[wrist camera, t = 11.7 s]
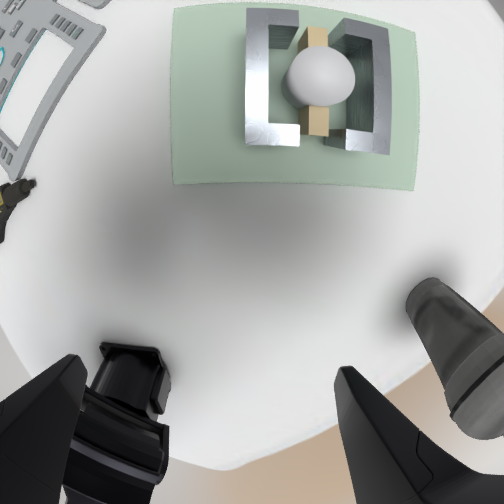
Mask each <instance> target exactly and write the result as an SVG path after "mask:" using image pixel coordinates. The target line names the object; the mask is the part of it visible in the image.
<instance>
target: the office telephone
mask: <svg viewBox="0 0 504 504" xmlns="http://www.w3.org/2000/svg"><path fill="white" fill-rule="evenodd" d="M56 1H57V0H0V112H1V110H2V107H3V105H4V103H5V100H6V98H7V96H8V94H9V92H10V90H11V88H12V86H13V84H14V82H15V80H16V78H17V76H18V74H19V72H20V70H21V68H22V67H23V65H24V63H25V61H26V60H27V58H28V56H29V55H30V53H31V51H32V50H33V48H34V46H35V45H36V43H37V42H38V40H39V39H40V38H41V36H42V35H43V33H44V32H45V30H46V29H48V30H49V31H51V32H52V33H54V34H56V35H57V36H59V37H60V38H62V39H63V40H64V41H66V42H67V43H69V44H70V45H71V46H73V47H74V49H73V51H72V52H71V53H70V55H69V56H68V58H67V59H66V61H65V62H64V64H63V65H62V67H61V69H60V70H59V72H58V73H57V75H56V77H55V78H54V80H53V82H52V83H51V85H50V87H49V88H48V90H47V92H46V94H45V95H44V97H43V99H42V101H41V103H40V104H39V106H38V108H37V110H36V112H35V114H34V116H33V118H32V120H31V122H30V124H29V126H28V129H27V131H26V133H25V135H24V137H23V139H22V141H21V143H20V145H19V147H17V146H16V145H15V144H14V143H13V142H12V141H11V140H10V139H9V138H8V137H7V136H6V135H5V133H4V132H3V131H2V130H1V129H0V164H1V166H2V167H3V168H4V169H5V171H6V172H7V173H8V176H9V179H10V180H11V181H16V180H19V179H21V177H22V175H23V173H24V170H25V168H26V166H27V163H28V161H29V159H30V156H31V154H32V152H33V150H34V148H35V145H36V143H37V141H38V139H39V137H40V135H41V133H42V131H43V129H44V127H45V125H46V123H47V122H48V120H49V118H50V116H51V114H52V112H53V110H54V109H55V107H56V105H57V103H58V102H59V100H60V98H61V97H62V95H63V93H64V92H65V90H66V89H67V87H68V85H69V84H70V82H71V81H72V79H73V78H74V76H75V75H76V73H77V72H78V71H79V69H80V68H81V66H82V65H83V64H84V62H85V61H86V59H87V58H88V56H89V55H90V54H91V52H92V51H93V49H94V48H95V47H96V45H97V44H98V43H99V41H100V40H101V39H102V37H103V36H104V34H105V33H106V28H105V27H104V26H102V25H100V24H95V23H93V22H91V21H89V20H87V19H85V18H83V17H81V16H79V15H78V14H76V13H74V12H72V11H70V10H69V9H67V8H65V7H63V6H61V5H59V4H57V3H56ZM79 1H82V2H84V3H86V4H88V5H90V6H92V7H95V8H97V9H102V8H104V7H105V6H106V5H107V4H108V3H109V2H110V1H111V0H79Z"/></svg>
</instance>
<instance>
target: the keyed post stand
mask: <svg viewBox="0 0 504 504" xmlns="http://www.w3.org/2000/svg"><path fill="white" fill-rule="evenodd" d="M246 8H276V9H290V10H299V28H298V30H297V32H296V34H295V36H294V38H293V40H292V42H291V44H290V46H289V48H288V50H287V49H269V87H268V123H273V124H295V125H300V138H299V146H280V145H245V78H246ZM343 18H349V19H354V20H358V21H362V22H366V23H370V24H374V25H377V26H381V27H384V28H387V29H388V32H389V43H390V56H391V77H392V121H391V143H390V156H389V155H382V154H375V153H368V152H360V151H351V150H344V149H339V148H334V147H330V146H325V145H323V141H324V136H328V135H329V129H346V98H347V97H348V96H349V95H350V94H351V93H352V91H353V89H354V85H355V73H354V70H353V67H352V65H351V64H350V62H349V61H348V59H347V58H346V57H345V56H344V55H343V54H341V53H340V52H338V51H337V50H335V49H333V48H330V47H328V34H329V33H330V32H331V31H332V30H333V29H334V28H335V27H336V26H337V24H338V23H339V22H340V21H341V20H342V19H343ZM419 116H420V96H419V70H418V57H417V46H416V38H415V32H412V31H410V30H407V29H404V28H401V27H398V26H395V25H392V24H389V23H386V22H383V21H379V20H376V19H372V18H368V17H364V16H360V15H356V14H352V13H347V12H342V11H337V10H332V9H326V8H319V7H312V6H304V5H295V4H282V3H261V2H239V3H217V4H205V5H195V6H187V7H180V8H174V14H173V28H172V45H171V74H170V120H171V152H172V171H173V185H179V184H202V183H307V184H330V185H347V186H362V187H374V188H386V189H396V190H406V191H414V185H415V177H416V167H417V156H418V142H419Z"/></svg>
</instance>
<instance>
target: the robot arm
mask: <svg viewBox="0 0 504 504" xmlns="http://www.w3.org/2000/svg"><path fill="white" fill-rule="evenodd" d="M99 348H100V350H101V352H102V355H103V357H104V360H103V361H102V363H101V365H100V368H99V370H98V372H97V374H96V376H95V378H94V380H93V382H92V384H91V386H90V388H89V387H87V385H86V380H87V369H86V368H85V366H84V364H83V362H82V360H81V358H80V357H79V356H78V355H75V354H68V355H66V356H65V357H63V358H62V359H61V360H59V361H58V362H56V363H55V364H53V365H52V366H50V367H49V368H48V369H46V370H45V371H43V372H42V373H41V374H39V375H38V376H36V377H35V378H33V379H32V380H31V381H29V382H28V383H26V384H25V385H24V386H22V387H21V388H19V389H18V390H17V391H15V392H14V393H12V394H11V395H10V396H8V397H7V398H6V399H5V400H3V401H1V402H0V504H59V499H60V492H61V486H62V485H63V488H64V491H65V494H66V496H67V499H66V502H65V504H149V503H150V499H151V495H152V492H153V489H154V486H155V485H158V484H159V483H160V482H161V481H162V479H163V478H164V476H165V473H166V470H167V467H168V460H169V426H168V425H166V424H161V423H158V422H157V418H158V414H159V415H162V414H163V413H164V411H165V407H166V402H167V398H168V394H169V392H170V390H171V387H170V386H171V382H170V379H169V376H168V373H167V370H166V368H165V367H164V366H163V362H162V359H161V356H160V353H159V351H158V350H156V349H153V348H143V347H133V346H125V345H117V344H109V343H101V345H100V347H99ZM153 353H154V354H153ZM334 392H335V399H336V407H337V415H338V423H339V429H340V433H341V437H342V441H343V445H344V449H345V453H346V458H347V462H348V466H349V471H350V475H351V479H352V484H353V489H354V493H355V497H356V503H357V504H504V475H491V474H482V473H478V472H476V471H474V470H472V469H470V468H469V467H467V466H466V465H464V464H463V463H461V462H460V461H458V460H457V459H455V458H454V457H453V456H451V455H450V454H448V453H447V452H445V451H444V450H443V449H442V448H440V447H439V446H438V445H436V444H435V443H434V442H433V441H432V440H430V438H428V437H427V436H426V435H425V434H424V433H423V432H422V431H419V428H417V427H416V426H415V425H414V424H413V423H412V422H411V421H410V420H409V419H408V418H407V417H406V416H404V414H402V413H401V412H400V411H399V410H398V409H397V408H396V407H395V406H394V405H393V404H392V403H391V402H390V401H389V400H388V399H387V398H385V397H384V396H383V395H382V394H381V393H380V392H379V391H378V390H377V389H376V388H375V387H374V386H373V385H372V384H371V383H370V382H369V381H368V380H366V379H365V378H364V377H363V376H362V375H361V374H360V373H359V372H358V371H357V370H356V369H355V368H354V367H353V366H342V367H340V368H339V370H338V372H337V376H336V379H335V382H334ZM80 409H81V410H80ZM83 411H84V412H83Z"/></svg>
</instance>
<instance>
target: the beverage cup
mask: <svg viewBox="0 0 504 504" xmlns="http://www.w3.org/2000/svg"><path fill="white" fill-rule="evenodd" d="M406 312H407V313H408V315H409V317H410V319H411V321H412V324H413V326H414V328H415V330H416V332H417V333H418V335H419V337H420V339H421V341H422V343H423V345H424V347H425V349H426V351H427V353H428V355H429V357H430V359H431V361H432V363H433V365H434V367H435V369H436V372H437V374H438V376H439V378H440V380H441V383H442V385H443V387H444V389H445V392H444V394H445V397H446V401H447V404H448V407H449V409H450V411H451V413H450V417H451V419H452V420H453V421H454V422H456V424H457V425H458V427H459V428H460V429H461V430H462V431H463V432H464V433H465V434H466V435H468V436H470V437H472V438H475V439H479V440H489V439H494V438H497V437H500V436H502V435H503V436H504V333H502V332H501V331H500V330H499V329H498V328H497V327H496V326H495V325H494V324H493V323H492V322H490V321H489V320H488V319H487V318H486V317H485V316H484V315H482V314H481V313H480V312H479V311H478V310H477V309H476V308H474V307H473V306H472V305H471V304H470V303H469V302H467V301H466V300H465V299H464V298H463V297H461V296H460V295H459V294H458V293H456V292H455V291H454V290H453V289H451V288H450V287H449V286H447V285H445V284H444V283H443V282H441V281H440V280H439V279H436V278H429V279H426V280H424V281H422V282H421V283H419V284H418V285H417V286H416V287H415V288H414V289H413V291H412V292H411V293H410V295H409V297H408V299H407V303H406Z"/></svg>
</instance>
